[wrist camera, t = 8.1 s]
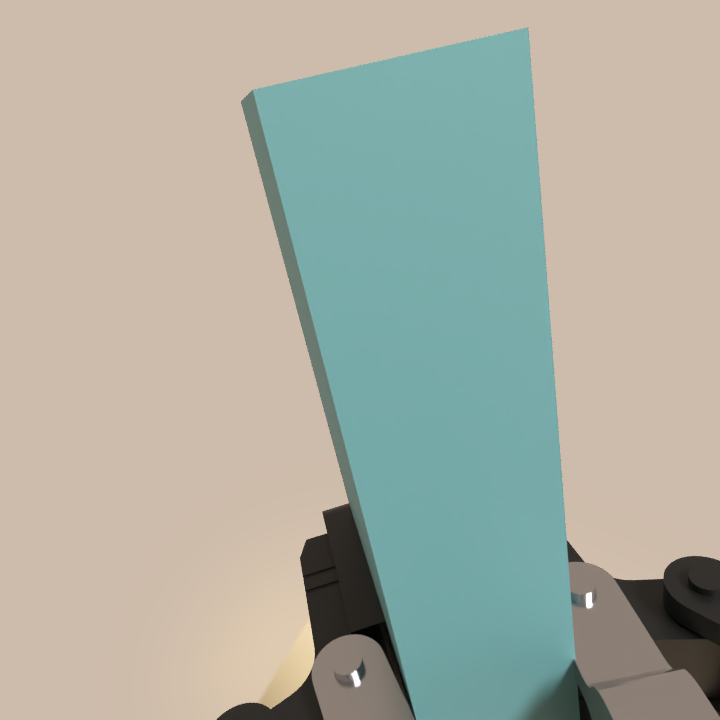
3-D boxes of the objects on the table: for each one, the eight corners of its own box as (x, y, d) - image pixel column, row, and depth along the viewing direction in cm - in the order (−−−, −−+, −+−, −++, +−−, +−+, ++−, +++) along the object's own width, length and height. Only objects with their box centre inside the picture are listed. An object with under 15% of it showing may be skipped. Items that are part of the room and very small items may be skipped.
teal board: (508, 1075, 14) (253, 90, 5) (440, 842, 19) (240, 101, 9) (603, 1034, 14) (528, 26, 5) (513, 814, 19) (389, 67, 10)
